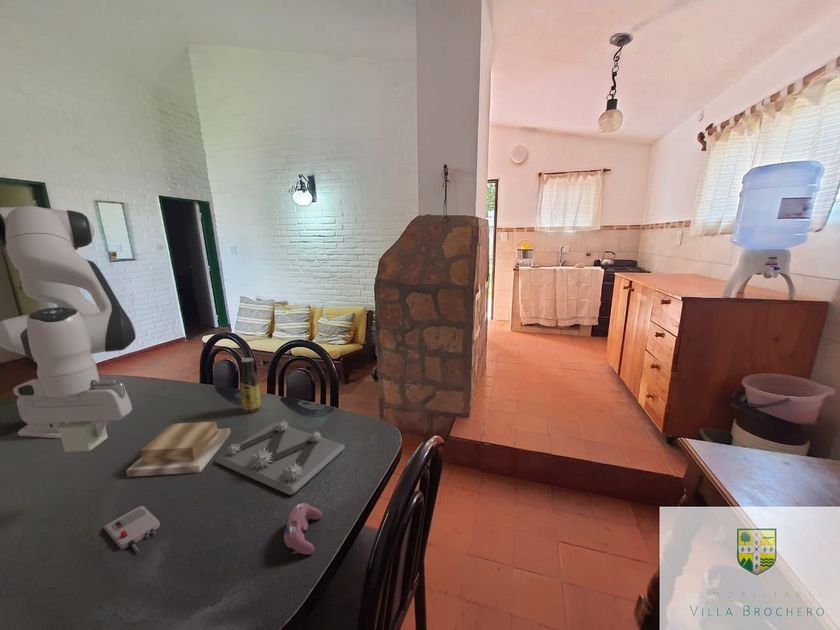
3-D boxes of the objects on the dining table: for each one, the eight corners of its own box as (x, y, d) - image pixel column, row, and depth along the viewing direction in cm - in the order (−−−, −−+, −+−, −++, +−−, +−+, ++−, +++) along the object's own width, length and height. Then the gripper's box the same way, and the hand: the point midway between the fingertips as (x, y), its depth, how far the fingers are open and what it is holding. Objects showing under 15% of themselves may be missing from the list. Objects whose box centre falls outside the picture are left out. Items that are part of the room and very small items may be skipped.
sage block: (65, 452, 73) (58, 428, 71) (84, 438, 77) (79, 416, 76) (89, 450, 73) (83, 427, 72) (107, 437, 78) (102, 415, 77)
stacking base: (127, 476, 85) (123, 457, 84) (171, 436, 103) (168, 419, 101) (200, 472, 87) (196, 452, 86) (230, 433, 105) (228, 416, 103)
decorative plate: (347, 450, 98) (346, 429, 96) (292, 500, 79) (289, 475, 77) (276, 426, 110) (274, 407, 108) (213, 464, 91) (210, 442, 90)
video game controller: (307, 522, 74) (290, 500, 72) (324, 513, 74) (308, 491, 72) (295, 564, 64) (275, 540, 63) (315, 554, 64) (296, 530, 62)
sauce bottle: (239, 411, 118) (232, 360, 114) (255, 404, 124) (249, 355, 119) (249, 416, 115) (242, 363, 111) (265, 408, 120) (259, 358, 116)
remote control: (138, 505, 77) (135, 494, 76) (169, 535, 69) (167, 524, 69) (100, 526, 71) (98, 514, 71) (130, 561, 64) (127, 549, 63)
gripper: (132, 374, 76) (143, 426, 79) (35, 376, 74) (50, 430, 77) (110, 386, 70) (123, 442, 73) (3, 389, 68) (21, 447, 71)
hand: (85, 436), depth 75 cm, fingers closed on sage block, 5 cm apart
